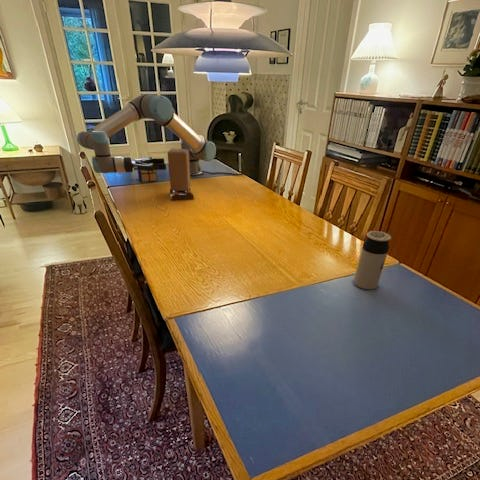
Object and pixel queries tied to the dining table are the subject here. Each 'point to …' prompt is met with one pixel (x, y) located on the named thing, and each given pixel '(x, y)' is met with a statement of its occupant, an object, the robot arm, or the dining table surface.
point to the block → (179, 169)
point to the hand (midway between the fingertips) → (165, 163)
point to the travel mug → (372, 259)
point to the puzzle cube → (147, 175)
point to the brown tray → (181, 195)
